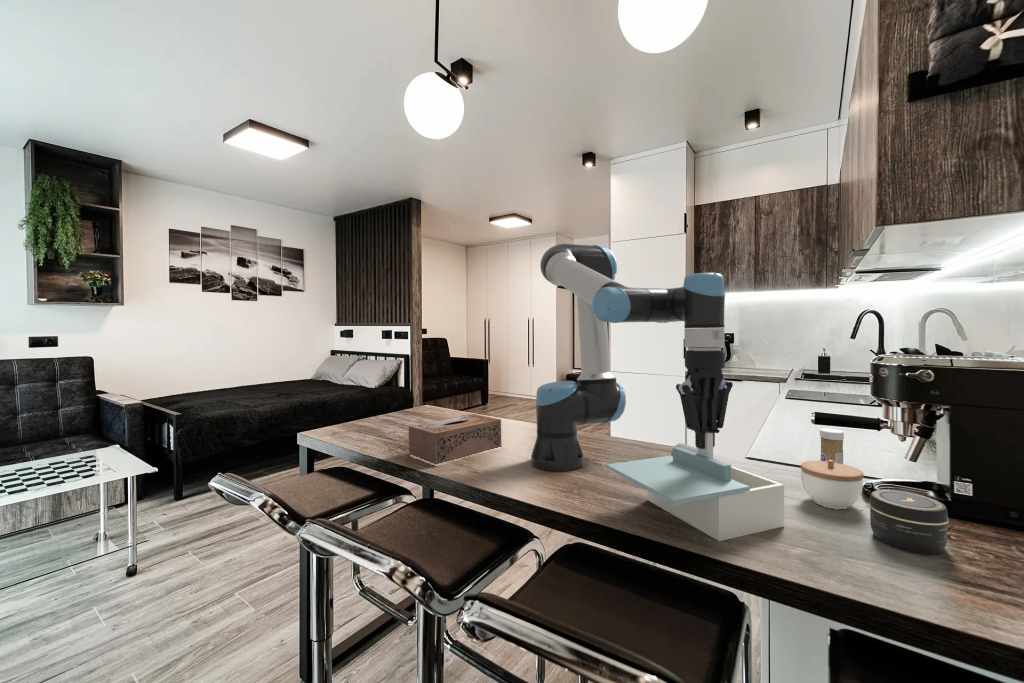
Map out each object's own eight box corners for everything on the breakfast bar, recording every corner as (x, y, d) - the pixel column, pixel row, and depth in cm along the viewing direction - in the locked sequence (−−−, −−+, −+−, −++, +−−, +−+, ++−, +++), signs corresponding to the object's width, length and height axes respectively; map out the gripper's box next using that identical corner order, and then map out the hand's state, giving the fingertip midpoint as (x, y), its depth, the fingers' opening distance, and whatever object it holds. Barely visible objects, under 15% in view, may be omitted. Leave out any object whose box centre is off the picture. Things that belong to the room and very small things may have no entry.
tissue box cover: (473, 442, 148) (473, 414, 148) (501, 449, 138) (500, 419, 138) (409, 458, 130) (408, 426, 130) (435, 468, 120) (435, 433, 120)
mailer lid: (606, 468, 90) (606, 450, 90) (670, 459, 96) (670, 442, 96) (674, 504, 71) (673, 482, 71) (749, 490, 76) (749, 470, 76)
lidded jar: (821, 491, 97) (821, 451, 97) (875, 509, 87) (875, 464, 87) (789, 498, 93) (789, 456, 93) (842, 518, 83) (842, 471, 83)
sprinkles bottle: (815, 483, 102) (815, 428, 102) (830, 481, 103) (829, 427, 103) (834, 490, 98) (833, 432, 97) (849, 488, 99) (848, 431, 98)
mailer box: (647, 500, 94) (647, 464, 93) (704, 490, 99) (704, 456, 99) (719, 541, 75) (718, 496, 75) (784, 526, 80) (784, 484, 80)
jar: (945, 540, 74) (945, 497, 74) (951, 564, 66) (951, 516, 66) (870, 524, 80) (870, 484, 80) (868, 544, 73) (868, 500, 73)
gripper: (692, 350, 80) (693, 473, 81) (743, 348, 85) (744, 464, 85) (666, 349, 87) (667, 462, 88) (714, 347, 92) (715, 455, 92)
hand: (705, 463), depth 86 cm, fingers closed
